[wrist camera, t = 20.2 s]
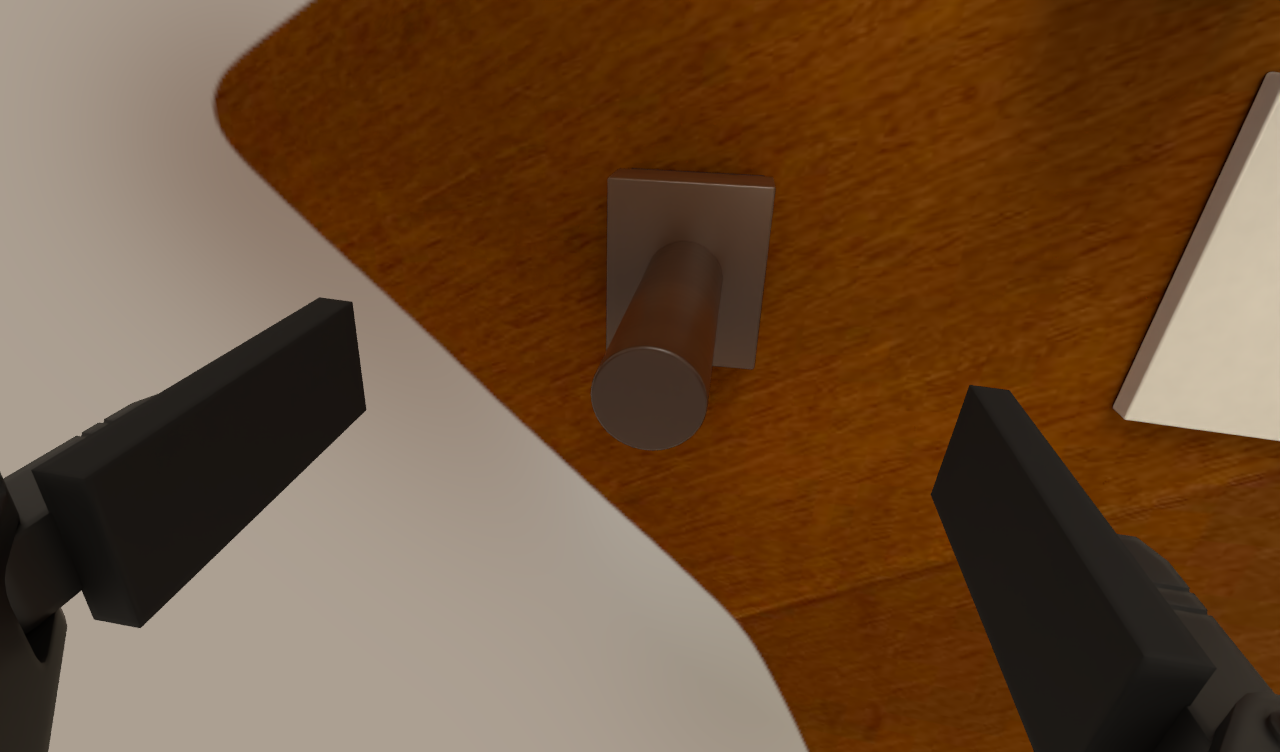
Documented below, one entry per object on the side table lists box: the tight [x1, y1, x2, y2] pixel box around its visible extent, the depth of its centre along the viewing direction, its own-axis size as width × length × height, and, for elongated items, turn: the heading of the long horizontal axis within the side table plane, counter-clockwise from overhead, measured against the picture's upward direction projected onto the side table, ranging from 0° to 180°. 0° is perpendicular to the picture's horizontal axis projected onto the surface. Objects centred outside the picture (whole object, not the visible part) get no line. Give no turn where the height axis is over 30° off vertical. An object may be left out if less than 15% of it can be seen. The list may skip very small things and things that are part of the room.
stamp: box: [591, 168, 776, 450], centre depth 20 cm, size 6×5×12 cm
